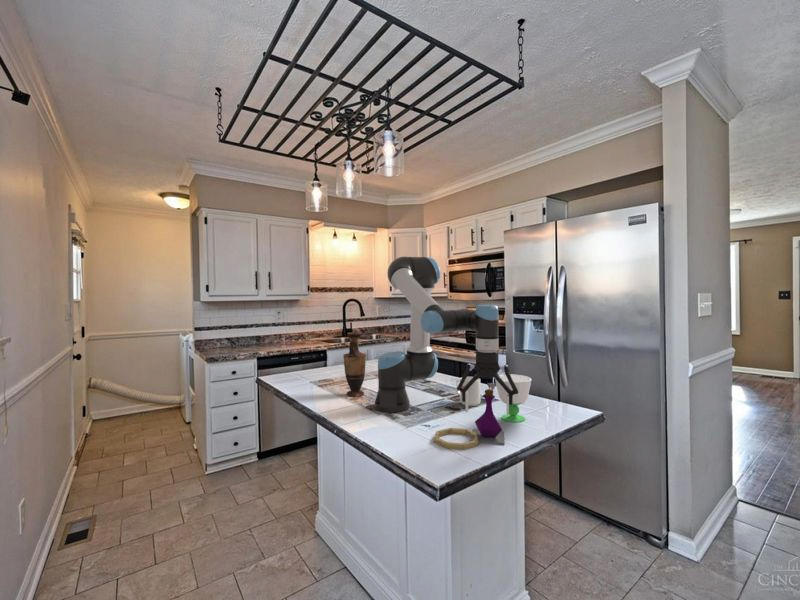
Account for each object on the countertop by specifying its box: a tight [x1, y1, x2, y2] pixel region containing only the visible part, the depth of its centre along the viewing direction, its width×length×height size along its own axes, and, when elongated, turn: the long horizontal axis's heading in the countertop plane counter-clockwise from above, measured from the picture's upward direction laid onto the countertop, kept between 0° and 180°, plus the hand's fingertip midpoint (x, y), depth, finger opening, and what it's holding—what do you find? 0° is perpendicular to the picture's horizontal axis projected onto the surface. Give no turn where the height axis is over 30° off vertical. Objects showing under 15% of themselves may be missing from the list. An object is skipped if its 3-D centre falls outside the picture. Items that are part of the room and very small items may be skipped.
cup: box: [494, 373, 532, 423], centre depth 153 cm, size 14×14×16 cm
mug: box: [455, 376, 481, 407], centre depth 174 cm, size 12×9×11 cm
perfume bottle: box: [474, 382, 503, 437], centre depth 134 cm, size 8×8×18 cm
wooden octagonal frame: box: [433, 427, 479, 451], centre depth 132 cm, size 14×14×2 cm
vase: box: [343, 331, 367, 398], centre depth 190 cm, size 11×11×30 cm
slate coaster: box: [469, 428, 506, 446], centre depth 134 cm, size 11×11×1 cm
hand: (487, 412), depth 134 cm, fingers open, 13 cm apart
